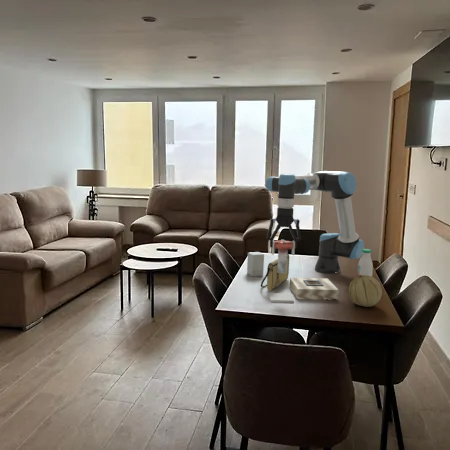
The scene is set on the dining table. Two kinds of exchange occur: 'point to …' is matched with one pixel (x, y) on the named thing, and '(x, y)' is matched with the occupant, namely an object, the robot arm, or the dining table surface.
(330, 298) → the block
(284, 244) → the screw pin
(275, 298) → the rubber mat
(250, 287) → the dining table surface
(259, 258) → the supplement box
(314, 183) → the robot arm
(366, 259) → the milk bottle
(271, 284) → the clutch purse
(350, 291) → the cantaloupe
